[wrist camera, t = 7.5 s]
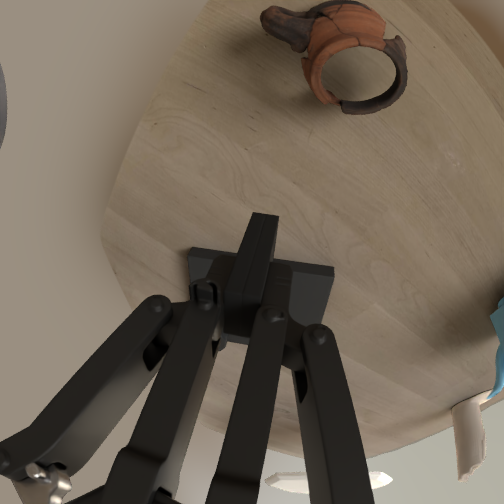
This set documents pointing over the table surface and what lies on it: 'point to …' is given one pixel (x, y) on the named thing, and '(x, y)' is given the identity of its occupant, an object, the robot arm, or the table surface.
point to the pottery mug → (338, 45)
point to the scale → (302, 289)
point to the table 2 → (300, 483)
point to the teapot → (499, 348)
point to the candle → (469, 435)
